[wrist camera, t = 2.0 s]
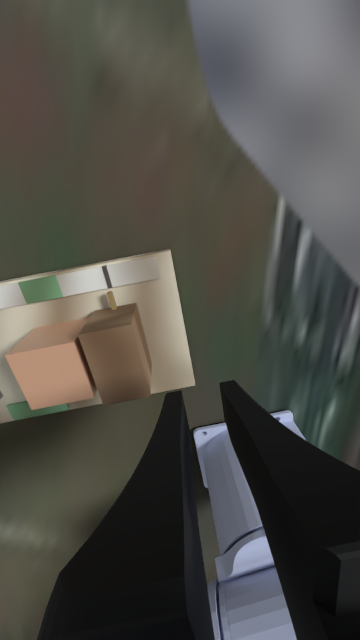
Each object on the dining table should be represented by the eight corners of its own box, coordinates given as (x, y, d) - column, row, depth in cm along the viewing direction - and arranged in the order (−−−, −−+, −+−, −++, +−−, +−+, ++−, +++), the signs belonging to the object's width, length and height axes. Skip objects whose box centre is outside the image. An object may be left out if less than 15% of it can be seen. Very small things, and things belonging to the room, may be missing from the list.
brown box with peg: (132, 286, 18) (125, 304, 14) (151, 363, 20) (150, 396, 16) (89, 294, 18) (70, 315, 14) (113, 370, 20) (103, 405, 16)
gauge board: (169, 248, 18) (170, 251, 17) (193, 378, 22) (195, 387, 21) (-70, 294, 18) (-85, 300, 17) (-1, 416, 22) (-10, 427, 21)
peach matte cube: (90, 317, 19) (73, 342, 15) (106, 364, 20) (94, 397, 16) (35, 327, 19) (4, 355, 15) (55, 374, 20) (31, 410, 16)
